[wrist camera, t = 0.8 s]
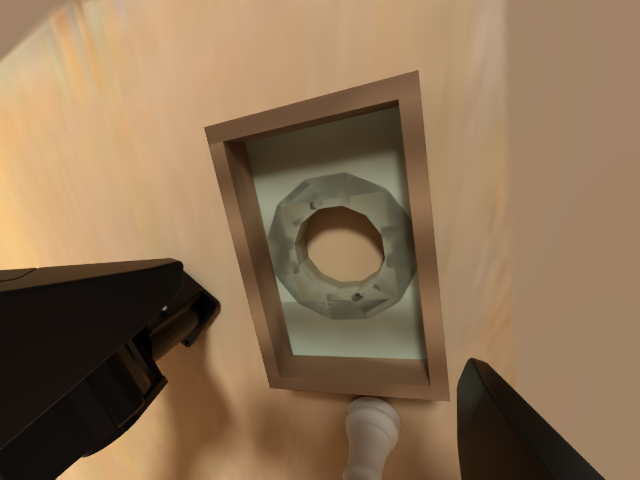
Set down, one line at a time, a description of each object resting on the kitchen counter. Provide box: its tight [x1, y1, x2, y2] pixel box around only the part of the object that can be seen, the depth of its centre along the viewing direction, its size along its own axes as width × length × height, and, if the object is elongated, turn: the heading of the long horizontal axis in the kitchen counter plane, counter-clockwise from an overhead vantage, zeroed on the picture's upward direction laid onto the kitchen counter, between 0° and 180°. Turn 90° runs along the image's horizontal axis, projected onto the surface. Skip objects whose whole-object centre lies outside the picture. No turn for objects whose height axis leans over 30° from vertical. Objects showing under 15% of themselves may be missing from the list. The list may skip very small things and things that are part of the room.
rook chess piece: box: [342, 396, 401, 480], centre depth 22 cm, size 4×4×8 cm
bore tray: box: [204, 70, 450, 402], centre depth 20 cm, size 18×12×4 cm, turn 11°
